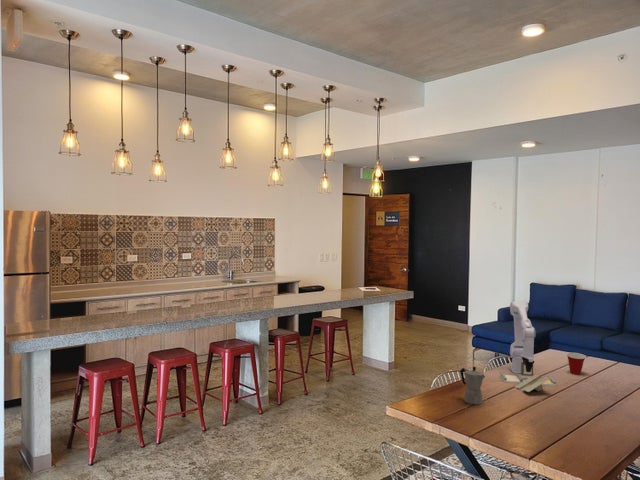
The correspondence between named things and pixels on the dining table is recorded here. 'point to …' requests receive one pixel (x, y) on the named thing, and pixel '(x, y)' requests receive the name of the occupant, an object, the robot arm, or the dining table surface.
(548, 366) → the dining table surface
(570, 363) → the plastic cup
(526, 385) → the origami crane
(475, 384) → the coffeepot
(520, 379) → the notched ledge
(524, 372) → the picture frame
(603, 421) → the dining table surface
